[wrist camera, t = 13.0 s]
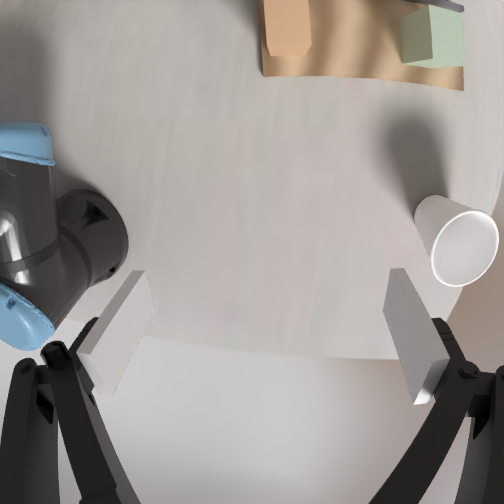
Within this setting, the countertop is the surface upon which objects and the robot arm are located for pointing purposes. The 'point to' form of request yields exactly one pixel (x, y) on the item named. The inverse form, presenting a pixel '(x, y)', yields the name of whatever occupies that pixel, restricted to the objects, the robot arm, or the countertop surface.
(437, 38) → the carton
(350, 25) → the wavy tan tray
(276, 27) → the faced carton
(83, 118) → the countertop surface
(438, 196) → the cup
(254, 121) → the countertop surface
